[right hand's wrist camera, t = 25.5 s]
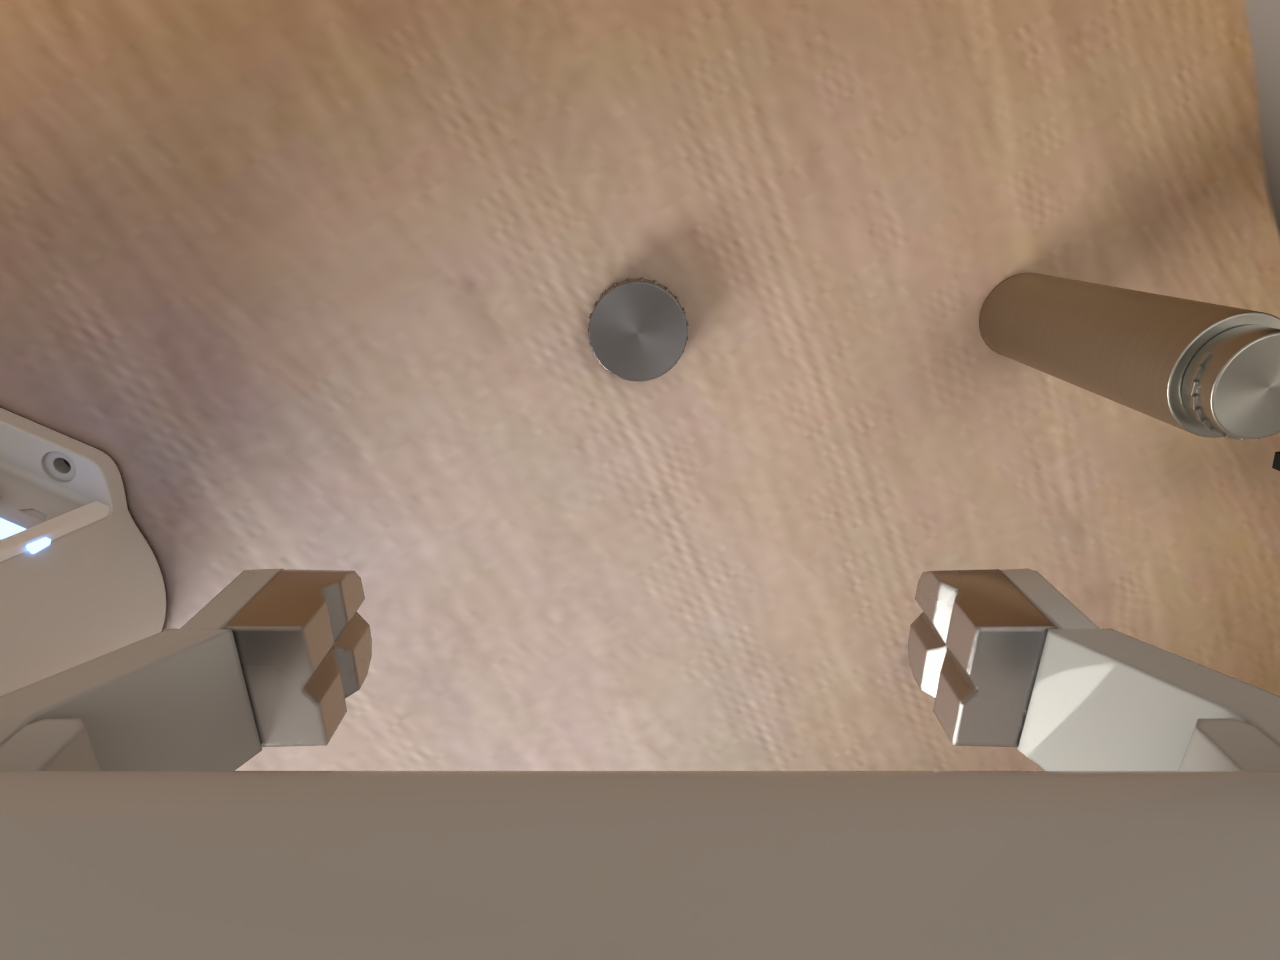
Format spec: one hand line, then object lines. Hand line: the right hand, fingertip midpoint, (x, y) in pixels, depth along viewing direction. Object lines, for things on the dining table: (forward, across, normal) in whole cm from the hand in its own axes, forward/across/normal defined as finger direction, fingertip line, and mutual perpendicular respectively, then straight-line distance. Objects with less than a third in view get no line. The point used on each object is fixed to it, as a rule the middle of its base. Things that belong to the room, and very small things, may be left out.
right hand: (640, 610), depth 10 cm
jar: (+26, +19, 0) cm, 32 cm away
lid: (+25, 0, 0) cm, 25 cm away
